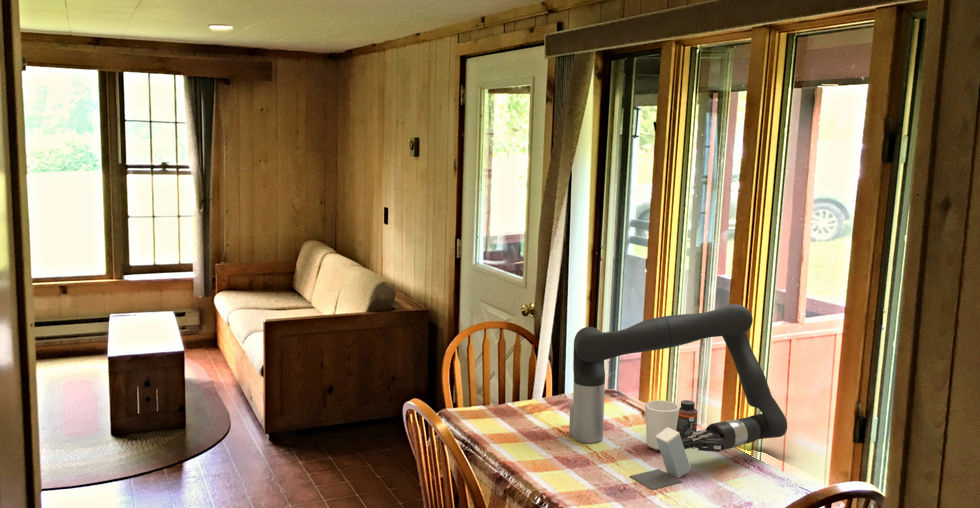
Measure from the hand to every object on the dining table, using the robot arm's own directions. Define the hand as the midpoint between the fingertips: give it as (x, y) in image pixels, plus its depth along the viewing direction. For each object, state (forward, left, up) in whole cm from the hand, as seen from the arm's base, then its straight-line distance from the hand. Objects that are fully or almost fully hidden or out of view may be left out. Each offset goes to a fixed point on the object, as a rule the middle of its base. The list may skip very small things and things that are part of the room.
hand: (679, 445), depth 217 cm
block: (0, 0, -7) cm, 7 cm away
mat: (-3, -7, -8) cm, 11 cm away
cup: (-13, +13, -8) cm, 20 cm away
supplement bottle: (-11, +25, -8) cm, 29 cm away
